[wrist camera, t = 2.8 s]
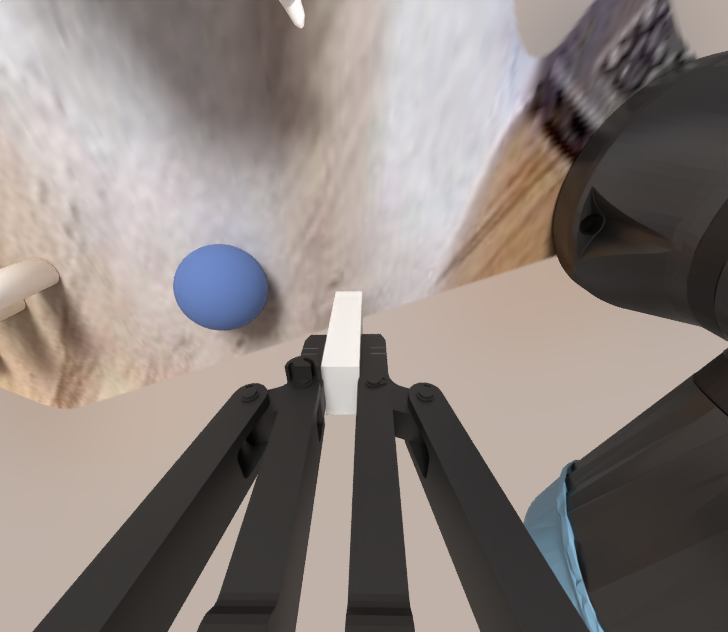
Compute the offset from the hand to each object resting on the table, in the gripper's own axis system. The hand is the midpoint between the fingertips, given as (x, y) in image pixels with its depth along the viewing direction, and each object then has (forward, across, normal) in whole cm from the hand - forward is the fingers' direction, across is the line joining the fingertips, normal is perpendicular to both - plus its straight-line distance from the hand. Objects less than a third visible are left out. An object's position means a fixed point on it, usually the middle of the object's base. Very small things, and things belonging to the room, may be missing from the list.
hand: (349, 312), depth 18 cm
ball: (+4, +9, 0) cm, 10 cm away
